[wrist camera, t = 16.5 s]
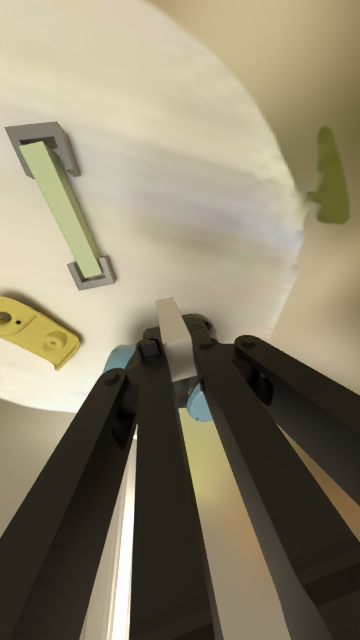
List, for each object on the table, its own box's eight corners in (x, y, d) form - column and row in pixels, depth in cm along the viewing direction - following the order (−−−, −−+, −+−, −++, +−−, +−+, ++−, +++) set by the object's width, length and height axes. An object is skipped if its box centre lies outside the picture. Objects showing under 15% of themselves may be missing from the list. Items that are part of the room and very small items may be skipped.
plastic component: (84, 342, 43) (53, 375, 40) (82, 335, 49) (55, 364, 46) (-6, 285, 33) (-54, 325, 30) (6, 286, 39) (-34, 319, 36)
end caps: (116, 280, 40) (113, 283, 37) (84, 286, 39) (78, 290, 36) (66, 134, 28) (57, 121, 25) (20, 139, 28) (4, 127, 24)
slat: (37, 160, 29) (18, 146, 25) (57, 155, 29) (42, 141, 25) (91, 273, 38) (85, 278, 34) (106, 269, 39) (101, 273, 34)
